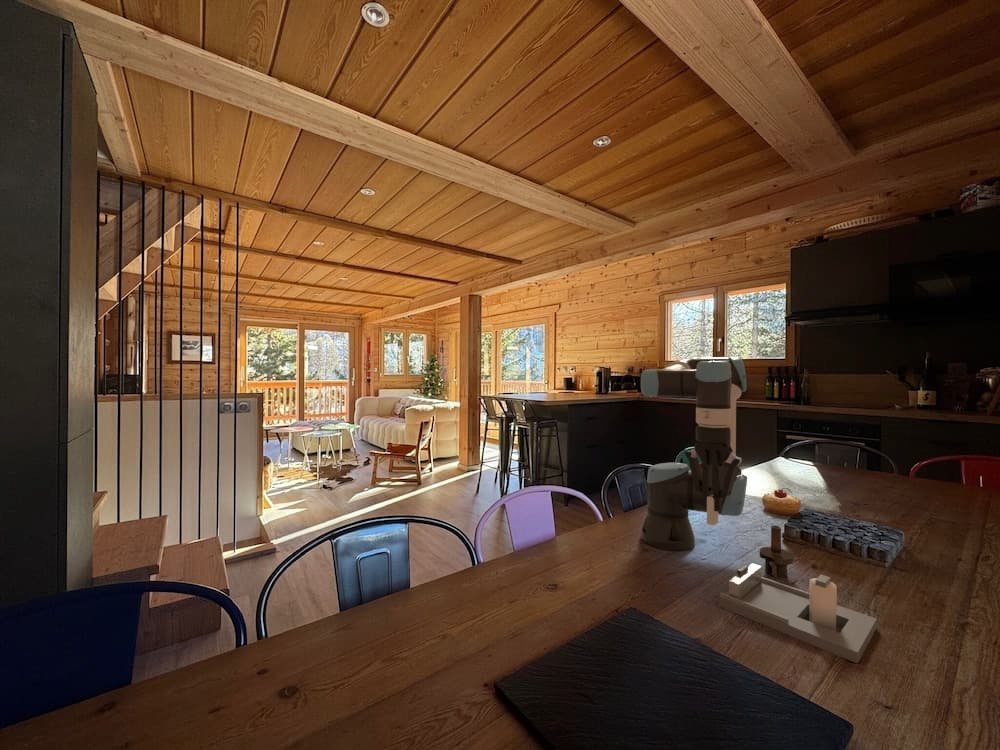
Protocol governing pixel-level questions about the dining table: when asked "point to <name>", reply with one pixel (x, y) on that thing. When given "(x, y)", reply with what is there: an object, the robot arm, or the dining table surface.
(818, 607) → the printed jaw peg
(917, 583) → the dining table surface
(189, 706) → the dining table surface
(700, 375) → the robot arm
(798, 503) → the pastry
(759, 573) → the lock bar
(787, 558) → the industrial component
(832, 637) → the housing plate
